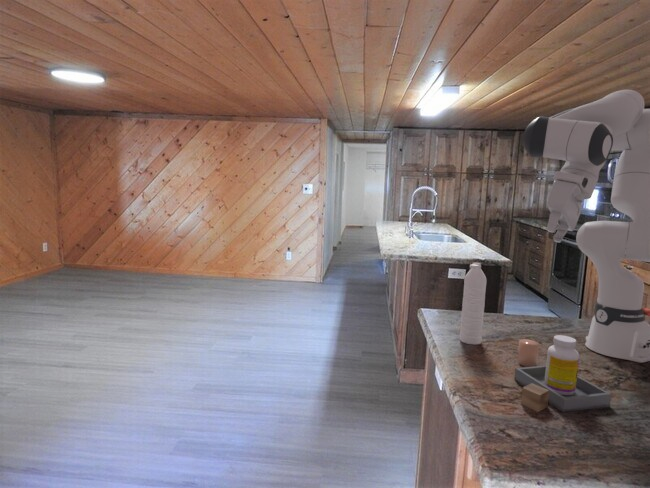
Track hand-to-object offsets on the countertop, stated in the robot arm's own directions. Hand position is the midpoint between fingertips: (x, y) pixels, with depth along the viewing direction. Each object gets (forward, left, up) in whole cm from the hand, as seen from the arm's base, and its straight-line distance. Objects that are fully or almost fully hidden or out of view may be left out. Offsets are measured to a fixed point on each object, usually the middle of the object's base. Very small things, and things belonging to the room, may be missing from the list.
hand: (553, 236), depth 110 cm
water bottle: (+7, -22, -36) cm, 43 cm away
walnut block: (+14, +15, -36) cm, 42 cm away
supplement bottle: (+4, +11, -36) cm, 38 cm away
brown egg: (0, -5, -36) cm, 36 cm away
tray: (+4, +11, -36) cm, 38 cm away
